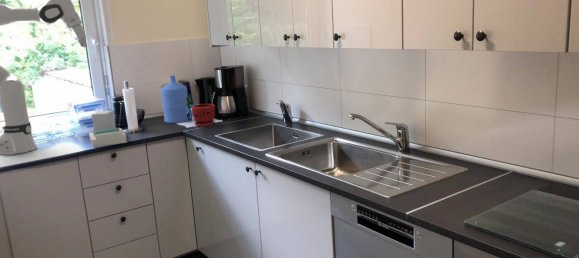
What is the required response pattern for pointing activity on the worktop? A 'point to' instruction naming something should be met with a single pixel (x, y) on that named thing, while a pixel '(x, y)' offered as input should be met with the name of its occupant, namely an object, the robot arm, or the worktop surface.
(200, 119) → the plant pot
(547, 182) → the worktop surface
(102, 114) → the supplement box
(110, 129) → the pusher
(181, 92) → the water jug
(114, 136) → the white tray
